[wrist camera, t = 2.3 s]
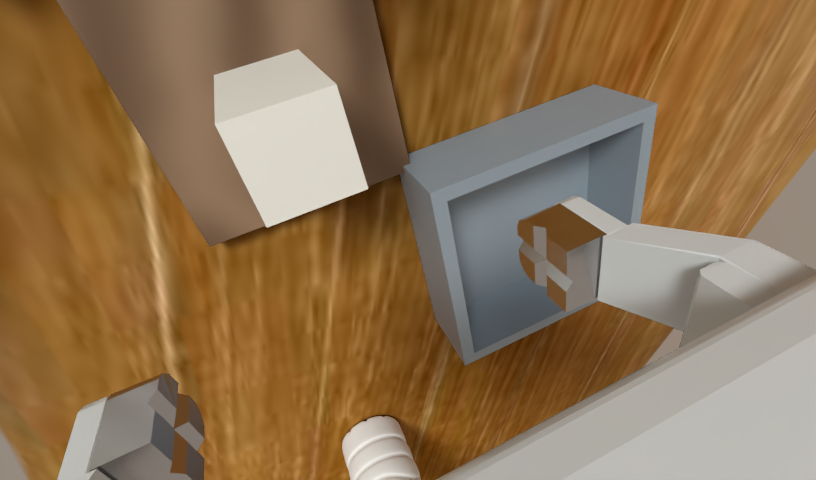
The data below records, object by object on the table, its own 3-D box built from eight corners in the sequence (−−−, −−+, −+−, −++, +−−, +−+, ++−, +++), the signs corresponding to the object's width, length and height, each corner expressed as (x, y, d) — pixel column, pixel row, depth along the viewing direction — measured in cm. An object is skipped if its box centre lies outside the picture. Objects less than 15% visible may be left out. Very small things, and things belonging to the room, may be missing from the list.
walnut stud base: (347, -76, 22) (375, -85, 18) (403, 162, 30) (431, 190, 27) (64, -3, 20) (29, 3, 16) (209, 235, 28) (209, 277, 24)
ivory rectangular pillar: (298, 49, 23) (336, 84, 16) (325, 128, 26) (368, 188, 19) (213, 75, 22) (214, 124, 15) (251, 154, 25) (266, 227, 18)
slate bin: (594, 84, 33) (657, 103, 28) (585, 250, 43) (631, 285, 39) (395, 158, 30) (429, 193, 25) (435, 319, 40) (465, 365, 35)
